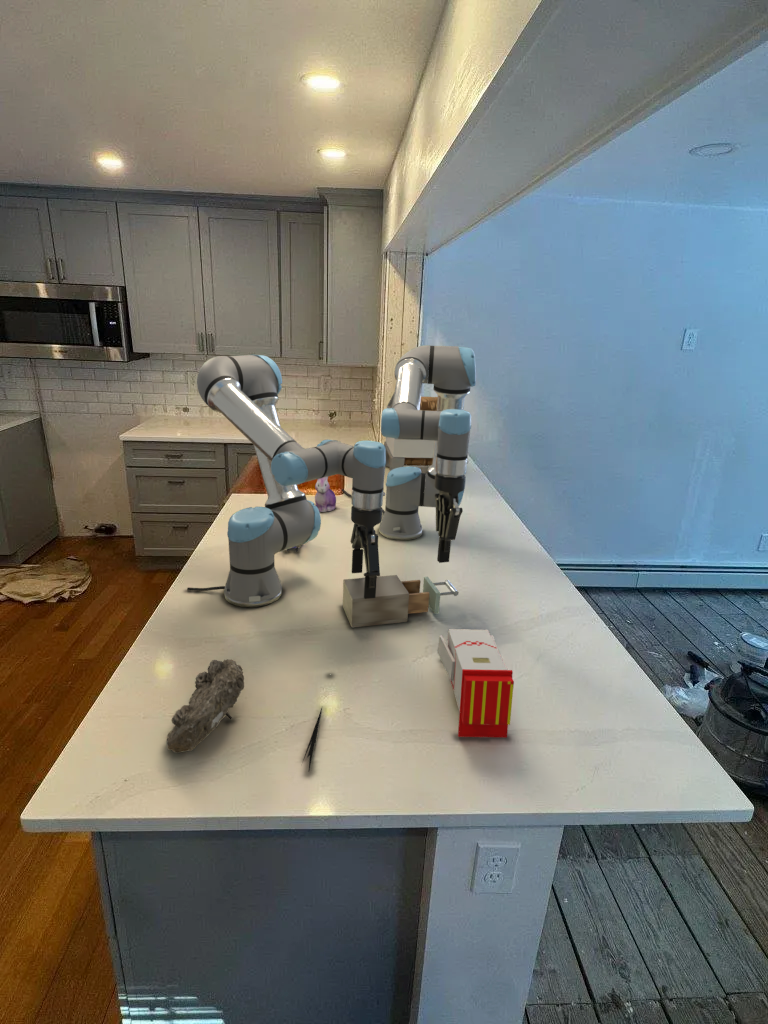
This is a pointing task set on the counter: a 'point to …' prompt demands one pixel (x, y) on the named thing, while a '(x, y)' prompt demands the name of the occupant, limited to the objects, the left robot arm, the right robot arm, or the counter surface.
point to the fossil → (206, 705)
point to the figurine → (324, 496)
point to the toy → (478, 682)
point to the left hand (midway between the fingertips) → (362, 584)
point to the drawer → (426, 595)
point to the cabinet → (375, 602)
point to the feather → (313, 740)
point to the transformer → (411, 444)
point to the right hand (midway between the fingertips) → (443, 561)
